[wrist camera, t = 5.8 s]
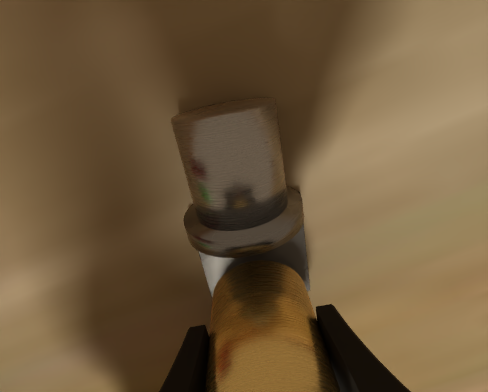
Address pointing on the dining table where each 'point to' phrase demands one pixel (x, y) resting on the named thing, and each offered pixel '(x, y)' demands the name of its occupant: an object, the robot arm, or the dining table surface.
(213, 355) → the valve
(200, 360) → the robot arm
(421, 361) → the dining table surface
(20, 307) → the dining table surface
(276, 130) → the grey metal fittings
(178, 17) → the dining table surface
